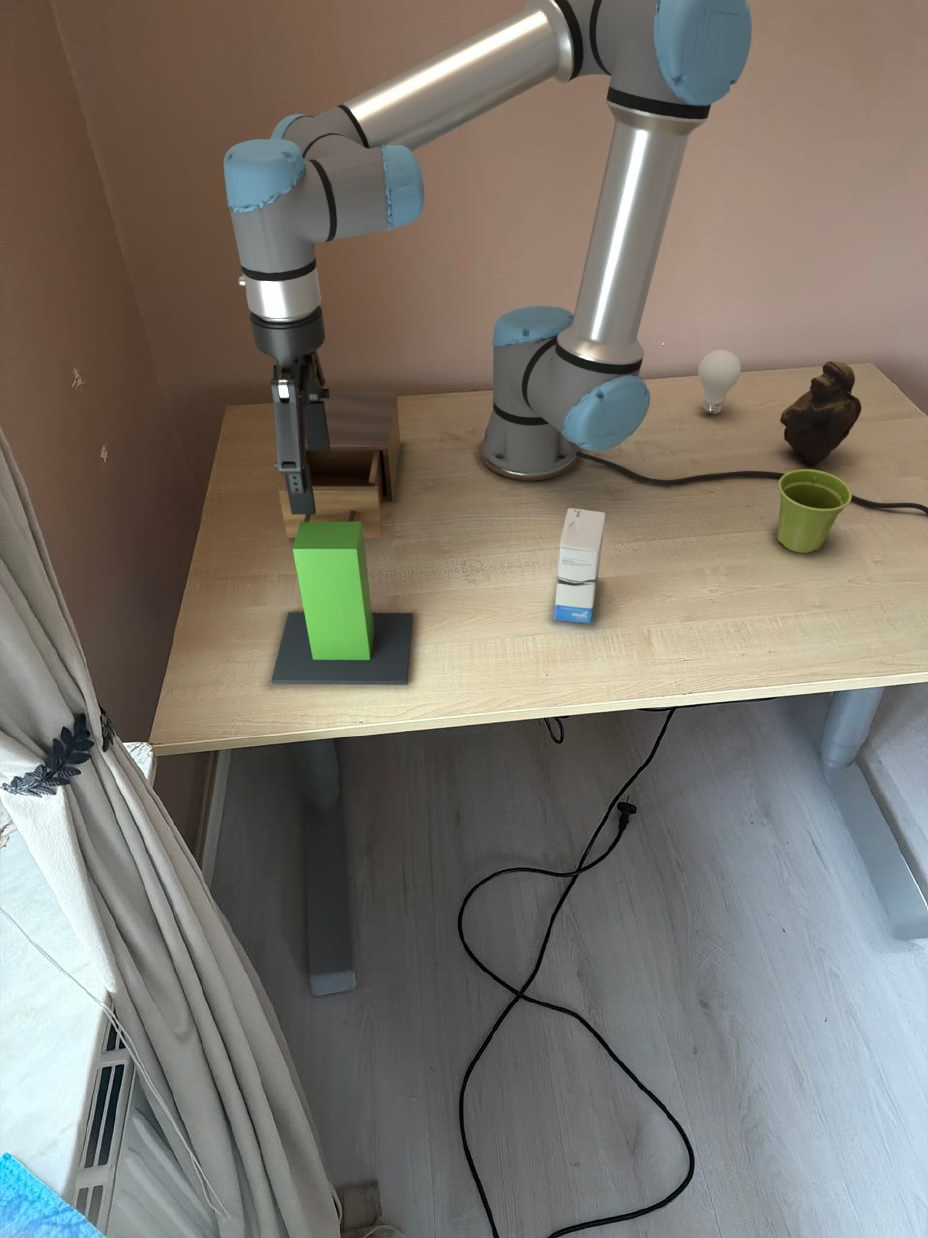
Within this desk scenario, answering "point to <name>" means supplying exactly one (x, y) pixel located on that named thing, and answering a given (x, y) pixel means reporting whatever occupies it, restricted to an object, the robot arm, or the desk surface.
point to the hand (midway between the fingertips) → (311, 479)
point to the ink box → (579, 565)
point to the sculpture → (822, 414)
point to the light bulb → (718, 378)
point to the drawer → (342, 490)
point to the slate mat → (380, 669)
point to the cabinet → (365, 428)
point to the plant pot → (809, 508)
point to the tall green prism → (335, 589)
